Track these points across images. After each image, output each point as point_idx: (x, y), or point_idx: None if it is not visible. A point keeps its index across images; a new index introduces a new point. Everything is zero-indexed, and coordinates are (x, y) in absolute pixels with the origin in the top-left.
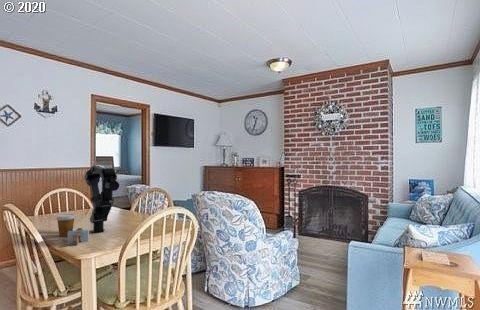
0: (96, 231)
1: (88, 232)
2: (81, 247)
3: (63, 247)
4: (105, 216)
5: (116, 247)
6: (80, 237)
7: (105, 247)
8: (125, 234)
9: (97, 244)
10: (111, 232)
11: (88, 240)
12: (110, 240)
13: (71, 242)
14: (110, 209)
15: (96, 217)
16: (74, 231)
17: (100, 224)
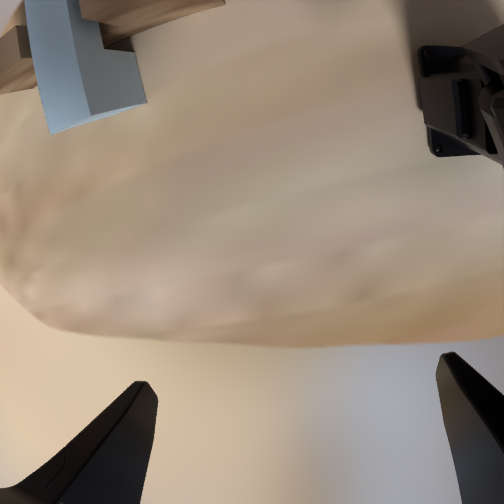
0: (421, 90)
1: (77, 124)
2: (8, 143)
3: (10, 29)
4: (129, 392)
5: (49, 325)
6: (137, 24)
7: (34, 278)
8: (309, 341)
9: (61, 218)
10: (407, 228)
11: (123, 111)
12: (149, 277)
13: None
14: (453, 460)
15: (487, 113)
16: (35, 4)
17: (471, 142)
